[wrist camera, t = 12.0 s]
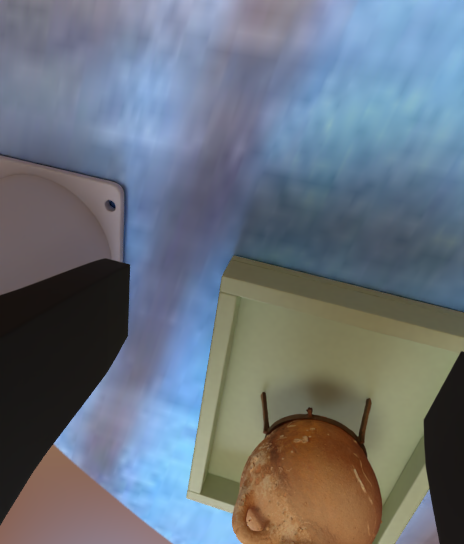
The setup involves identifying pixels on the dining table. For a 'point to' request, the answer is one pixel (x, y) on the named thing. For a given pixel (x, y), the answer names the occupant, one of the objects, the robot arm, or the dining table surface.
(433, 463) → the robot arm
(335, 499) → the pot
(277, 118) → the dining table surface
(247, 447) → the tray
